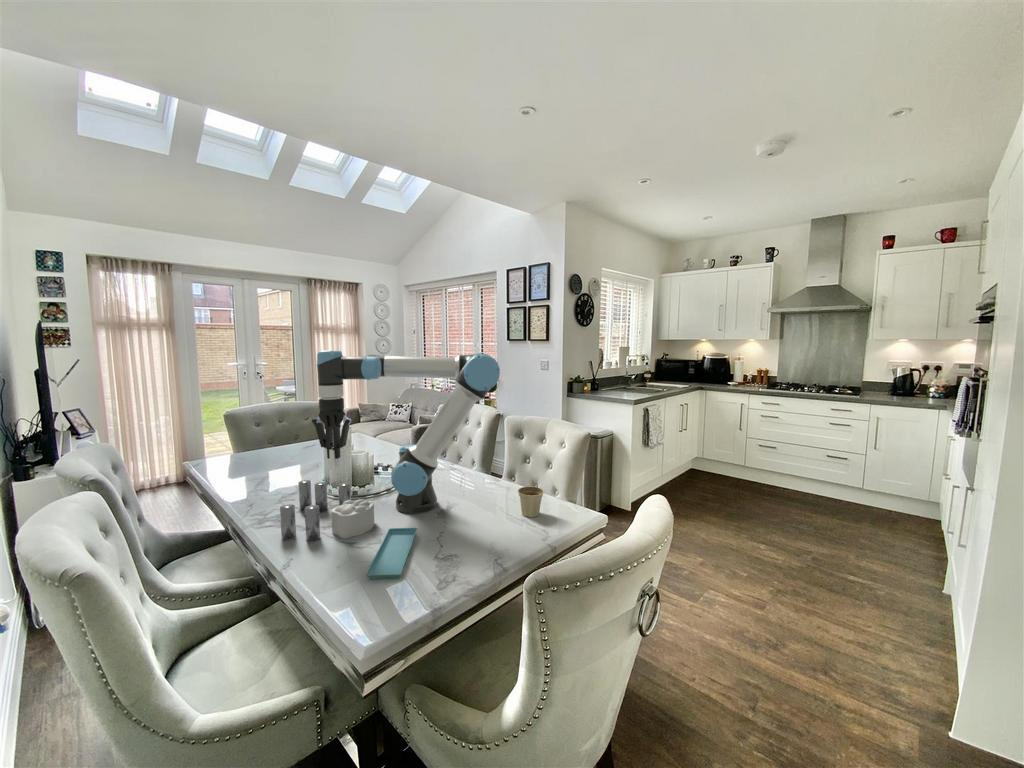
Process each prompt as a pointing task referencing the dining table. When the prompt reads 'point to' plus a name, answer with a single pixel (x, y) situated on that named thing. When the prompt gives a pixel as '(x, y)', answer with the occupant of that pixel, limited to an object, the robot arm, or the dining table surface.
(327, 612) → the dining table surface
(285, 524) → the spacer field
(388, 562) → the rectangular tray
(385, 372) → the robot arm
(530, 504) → the flower pot
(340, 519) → the lumpy-topped squat cylinder
